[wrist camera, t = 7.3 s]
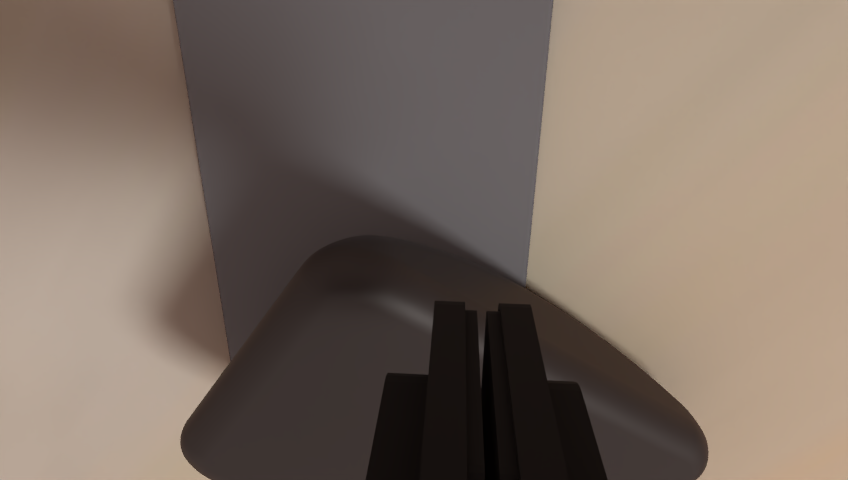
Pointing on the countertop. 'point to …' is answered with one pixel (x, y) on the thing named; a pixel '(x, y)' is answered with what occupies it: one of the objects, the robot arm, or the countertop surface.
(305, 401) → the leaning round-cornered charcoal block
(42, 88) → the countertop surface
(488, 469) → the robot arm
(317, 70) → the mat
